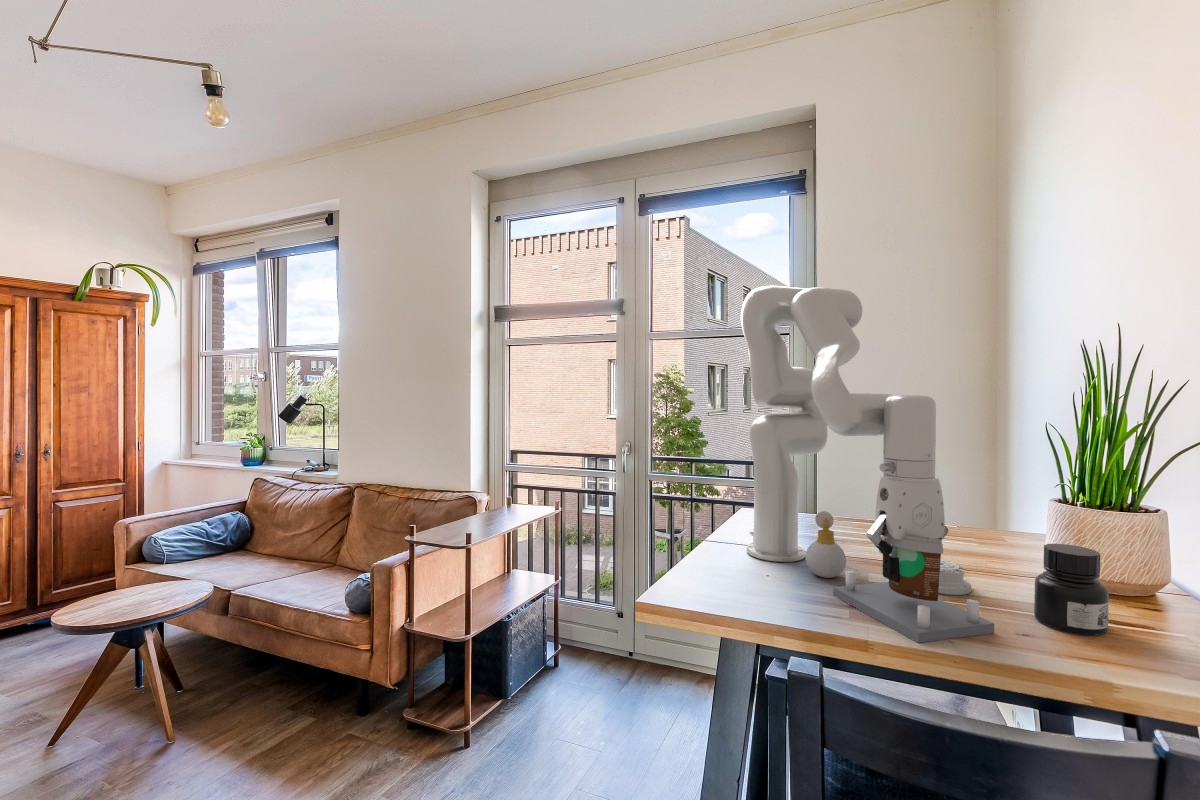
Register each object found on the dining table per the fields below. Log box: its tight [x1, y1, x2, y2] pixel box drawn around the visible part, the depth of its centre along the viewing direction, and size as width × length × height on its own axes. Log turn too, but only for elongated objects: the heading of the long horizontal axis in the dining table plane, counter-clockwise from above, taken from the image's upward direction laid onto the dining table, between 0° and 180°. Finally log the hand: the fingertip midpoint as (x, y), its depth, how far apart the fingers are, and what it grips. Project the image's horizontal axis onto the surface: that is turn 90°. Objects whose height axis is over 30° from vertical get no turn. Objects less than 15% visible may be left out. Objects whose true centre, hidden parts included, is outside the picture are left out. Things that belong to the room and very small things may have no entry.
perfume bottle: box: [805, 510, 847, 579], centre depth 110 cm, size 8×10×12 cm
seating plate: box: [832, 570, 995, 644], centre depth 91 cm, size 19×14×4 cm
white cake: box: [938, 559, 972, 596], centre depth 104 cm, size 10×4×10 cm
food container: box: [881, 532, 944, 601], centre depth 91 cm, size 12×6×10 cm, turn 175°
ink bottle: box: [1033, 543, 1110, 636], centre depth 86 cm, size 10×9×12 cm
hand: (907, 576), depth 91 cm, fingers closed on food container, 5 cm apart
